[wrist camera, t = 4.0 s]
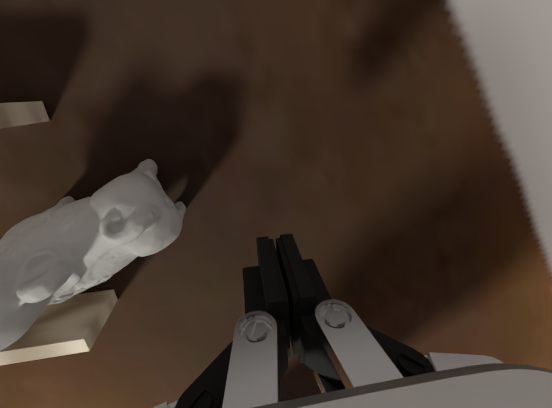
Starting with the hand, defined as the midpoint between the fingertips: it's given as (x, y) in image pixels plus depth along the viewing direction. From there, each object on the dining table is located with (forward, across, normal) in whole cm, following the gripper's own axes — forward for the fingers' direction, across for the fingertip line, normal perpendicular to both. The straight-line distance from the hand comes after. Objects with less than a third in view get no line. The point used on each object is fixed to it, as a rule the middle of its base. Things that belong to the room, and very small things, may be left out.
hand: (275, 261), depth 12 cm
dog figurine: (+10, +11, +1) cm, 15 cm away
